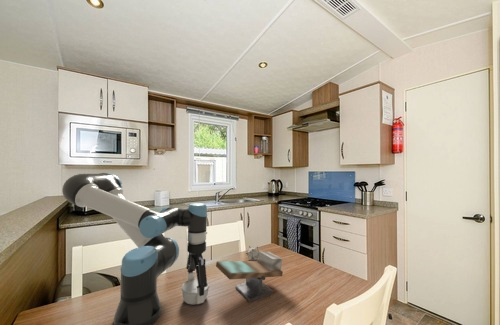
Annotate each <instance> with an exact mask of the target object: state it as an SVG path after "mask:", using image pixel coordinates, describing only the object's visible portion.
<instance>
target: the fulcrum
mask: <svg viewBox="0 0 500 325" xmlns="http://www.w3.org/2000/svg"><path fill="white" fill-rule="evenodd" d="M235 289H236V290H237V291H238V292H239V293H240V294H241V295H242V296H243V298H245V299H246V300H247V301H248V302H250V303H251V302H253V301H257V300H259V299H262V298H263V297H267V296H269V295H272V294H273V293H274V290H273V289H272V288H270V286H268V285H266V284H265V283H264V282H263V280H262V279H261V278H246V279H245V282H242V283H238V284H235Z"/></svg>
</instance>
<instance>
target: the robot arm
mask: <svg viewBox="0 0 500 325" xmlns="http://www.w3.org/2000/svg"><path fill="white" fill-rule="evenodd" d="M122 184H123V183H122V181H121V178H119V177H118V176H117V175H115V174H113V173H109V172H102V173H101V172H100V173H78V174H74V175H73V176H70V177H69V178H67V179H66V180H65V182H64V183H63V185H62V190H61V191H62V192H61V193H62V196H63V197H64V199H66V201H67V202H69V203H70V204H73V205H74V206H77V207H80V208H85V207H87V208H89V209H92V210H94V211H96V212H99V213H101V214H104V215H107V216H109V217H111V218H112V219H113V220H114V221H115V223H117V225H118V226H119V227H120V228H121V229H122V230H123V232H124V233H125V234H126V235H127V236H128V238H130V240H131V241H132V242H133V243H134V245H136V247H135V248H133V249H131V250H129V251H128V252H127V253H125V254H124V256H123V257H122V259H121V266H120V298H119V299H120V300H119V303H118V305H117V308H116V310H115V314H114V318H113V325H153V324H154V323H155V322H156V321H157V320H159V318H160V316H161V314H162V303H161V300H160V297H159V295H158V291H157V290H158V289H157V288H158V287H157V284H158V283H157V281H158V277H159V276H160V275H162V274H163V273H165V271H167V269H170V268H171V267H172V266H173V265H174V263H176V261H177V260H178V258H179V256H180V255H179V254H180V247H179V244H178V242H177V241H176V239H174V238H172V237H166V236H165V235H164V233H165V232H168V231H169V230H172V229H173V228H176V227H187V238H186V240H187V248H186V249H187V253H188V255H187V260H186V261H187V262H186V270H187V281H188V280H190V279H194V278H197V280H198V286H197V304H196V305H200V304H203V303H205V300H204V289H205V287H207V281H208V279H207V270H206V269H207V268H206V259H205V258H204V257H203V253H205V252H206V250H207V234H208V232H207V223H208V222H207V221H208V209H207V208H208V207H207V206H208V205H207V204H205V203H203V202H193V203H190V204H188V207H175V206H167V207H166V206H165V207H163V208H162V209H161V210H160V211H159V212H158V211H155V210H153V209H150V208H148V207H146V206H143V205H140V204H139V203H136V202H134V201H131V200H128V199H126V197H125V196H124V195H123V194H124V190H123V185H122ZM195 274H196V275H195ZM195 276H196V277H195Z"/></svg>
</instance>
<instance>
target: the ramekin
mask: <svg viewBox="0 0 500 325" xmlns="http://www.w3.org/2000/svg"><path fill="white" fill-rule="evenodd" d="M197 286H198V280H197V277H195V278H194V279H190V280H188V279H187V280H185V282H183V283H182V285H181V291H182V292H181V293H182V299H183V301H184V303H186V304H188V305H198V304H197ZM209 289H210V282H209V281H208V280H207V287H205V289H204V301H205V300H206V299H207V297H208V294H209Z"/></svg>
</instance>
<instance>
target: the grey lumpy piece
mask: <svg viewBox="0 0 500 325" xmlns="http://www.w3.org/2000/svg"><path fill="white" fill-rule="evenodd" d="M258 248H259V247H258V246H256V247H253V246H252V247H251V246H250V245H248V250H247V252H246V253H245V255H247V258H248V261H258V256H259V249H258Z"/></svg>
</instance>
